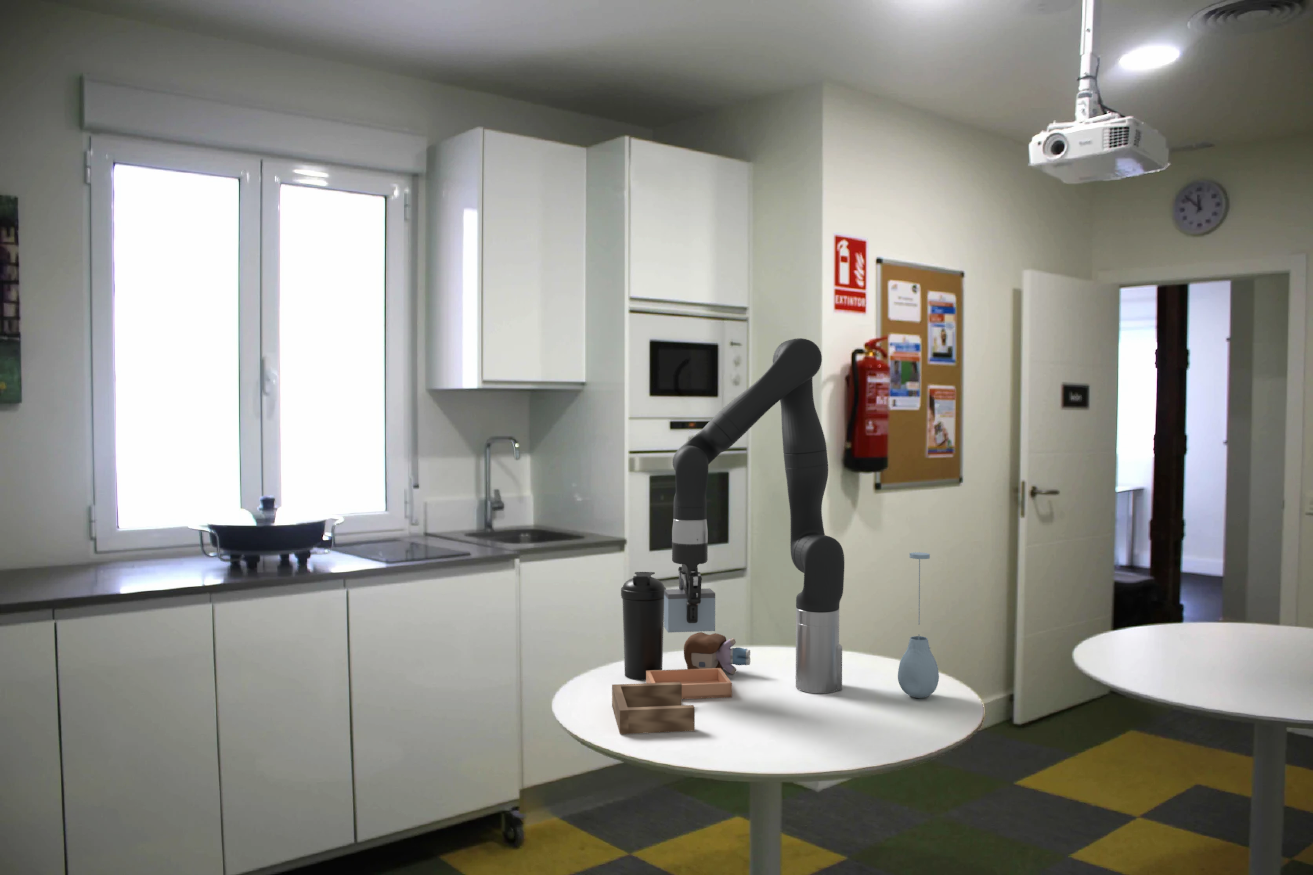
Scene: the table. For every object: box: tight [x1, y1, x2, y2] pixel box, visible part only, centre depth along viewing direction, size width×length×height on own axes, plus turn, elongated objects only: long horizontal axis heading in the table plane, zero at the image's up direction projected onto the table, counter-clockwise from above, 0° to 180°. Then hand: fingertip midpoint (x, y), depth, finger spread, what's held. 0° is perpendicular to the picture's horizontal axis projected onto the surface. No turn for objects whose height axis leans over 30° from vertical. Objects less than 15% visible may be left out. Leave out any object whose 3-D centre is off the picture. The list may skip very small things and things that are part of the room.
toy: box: [683, 631, 751, 675], centre depth 222 cm, size 9×8×15 cm
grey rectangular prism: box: [664, 588, 716, 634], centre depth 206 cm, size 10×6×8 cm, turn 99°
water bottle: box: [620, 571, 667, 681], centre depth 220 cm, size 10×10×23 cm
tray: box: [645, 668, 733, 700], centre depth 207 cm, size 17×12×3 cm
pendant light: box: [897, 551, 940, 699], centre depth 203 cm, size 8×8×30 cm
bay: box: [611, 682, 696, 735], centre depth 189 cm, size 14×17×4 cm
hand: (689, 619), depth 206 cm, fingers closed on grey rectangular prism, 5 cm apart
